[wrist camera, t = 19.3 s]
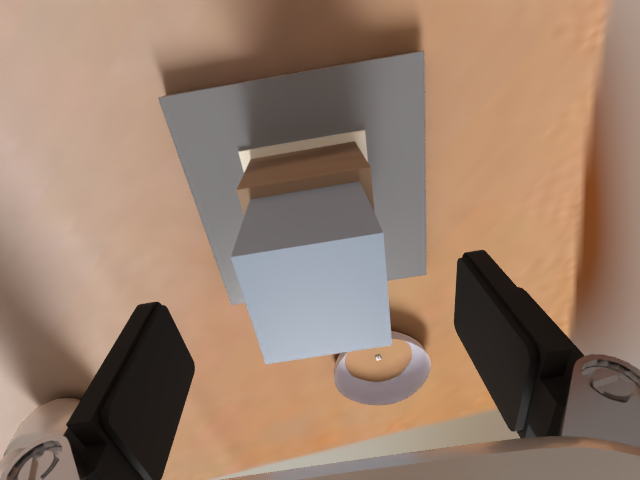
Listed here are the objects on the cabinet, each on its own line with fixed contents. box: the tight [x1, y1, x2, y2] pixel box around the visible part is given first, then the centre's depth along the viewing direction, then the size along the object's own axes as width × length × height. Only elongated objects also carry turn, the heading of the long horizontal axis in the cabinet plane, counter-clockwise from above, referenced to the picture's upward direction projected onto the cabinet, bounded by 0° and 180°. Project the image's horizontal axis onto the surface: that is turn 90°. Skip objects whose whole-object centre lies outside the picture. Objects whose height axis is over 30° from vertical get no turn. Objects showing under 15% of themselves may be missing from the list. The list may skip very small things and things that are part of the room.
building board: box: [158, 51, 426, 305], centre depth 22 cm, size 14×14×1 cm
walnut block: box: [237, 141, 375, 216], centre depth 19 cm, size 6×6×5 cm
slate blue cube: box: [231, 181, 392, 364], centre depth 15 cm, size 5×5×5 cm
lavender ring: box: [334, 331, 431, 405], centre depth 29 cm, size 8×8×2 cm
